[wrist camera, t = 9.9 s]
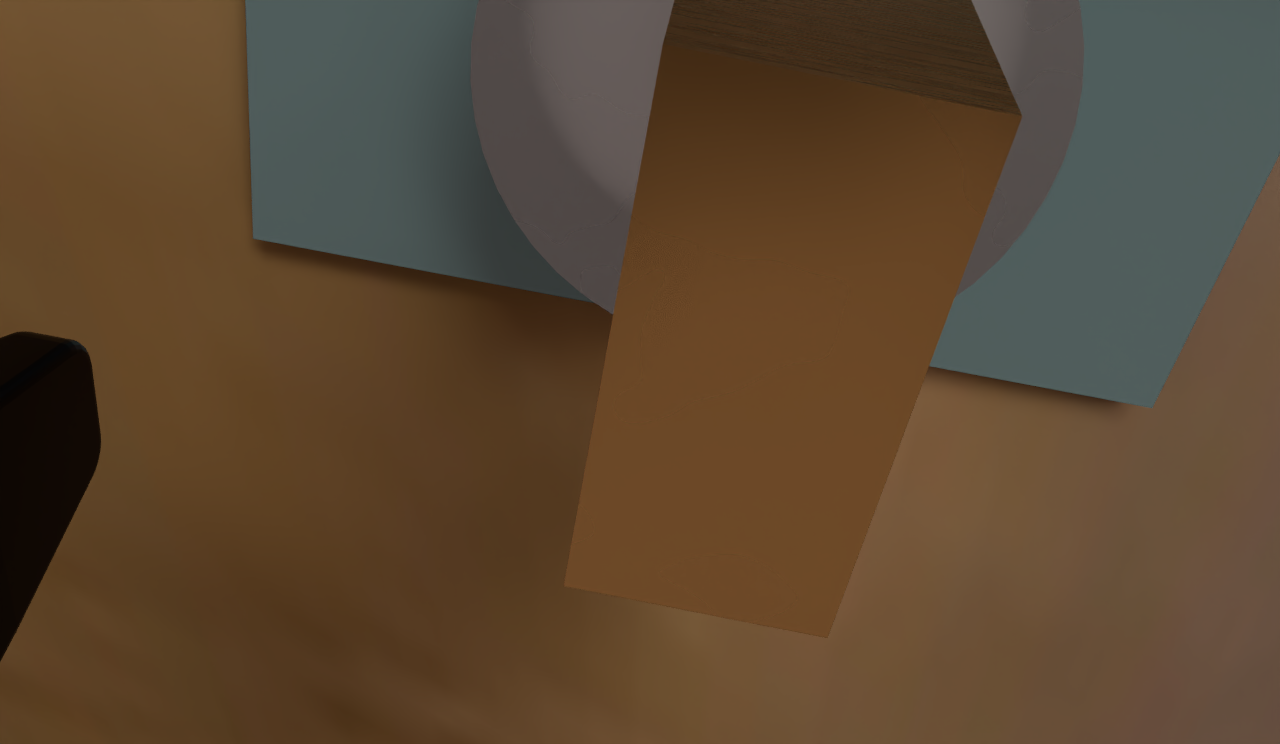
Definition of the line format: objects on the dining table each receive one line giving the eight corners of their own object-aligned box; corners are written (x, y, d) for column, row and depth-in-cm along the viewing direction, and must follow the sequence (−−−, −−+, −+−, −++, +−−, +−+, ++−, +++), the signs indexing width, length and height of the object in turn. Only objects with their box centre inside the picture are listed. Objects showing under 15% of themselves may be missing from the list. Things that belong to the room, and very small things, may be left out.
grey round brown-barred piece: (1122, -203, 15) (1473, 24, 7) (942, 292, 19) (1045, 765, 11) (550, -320, 15) (302, -213, 7) (493, 203, 19) (297, 619, 11)
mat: (1469, -279, 14) (1493, -274, 14) (1143, 387, 20) (1152, 407, 19) (247, -512, 14) (228, -516, 14) (266, 221, 20) (253, 238, 19)
